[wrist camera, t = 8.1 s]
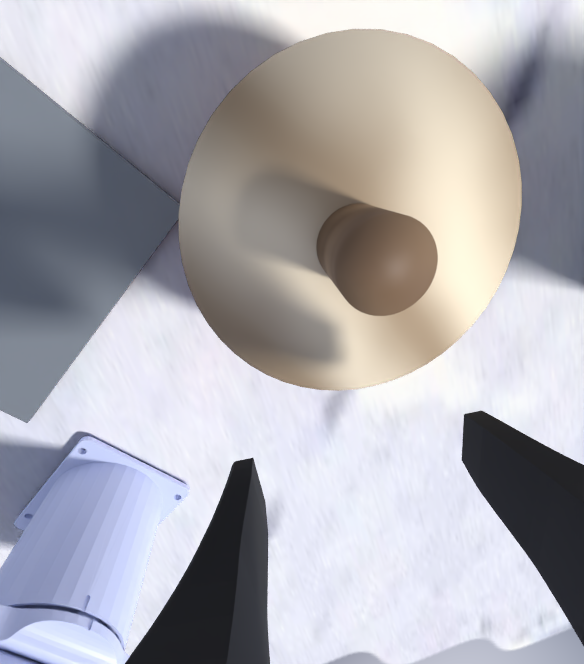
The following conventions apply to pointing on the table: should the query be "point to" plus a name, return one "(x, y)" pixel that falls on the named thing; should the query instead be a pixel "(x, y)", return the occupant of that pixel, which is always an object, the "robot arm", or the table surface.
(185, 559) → the table surface
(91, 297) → the mat
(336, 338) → the lid
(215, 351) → the table surface
